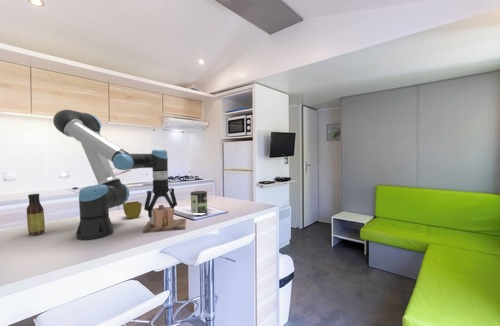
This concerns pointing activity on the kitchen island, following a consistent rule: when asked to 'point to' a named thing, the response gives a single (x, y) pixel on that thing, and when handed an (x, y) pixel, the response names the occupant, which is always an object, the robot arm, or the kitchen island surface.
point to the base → (173, 227)
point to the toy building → (162, 216)
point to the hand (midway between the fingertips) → (161, 221)
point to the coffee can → (199, 202)
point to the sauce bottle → (35, 215)
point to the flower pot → (132, 209)
